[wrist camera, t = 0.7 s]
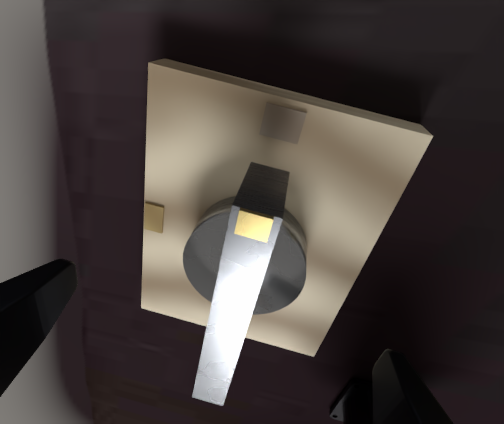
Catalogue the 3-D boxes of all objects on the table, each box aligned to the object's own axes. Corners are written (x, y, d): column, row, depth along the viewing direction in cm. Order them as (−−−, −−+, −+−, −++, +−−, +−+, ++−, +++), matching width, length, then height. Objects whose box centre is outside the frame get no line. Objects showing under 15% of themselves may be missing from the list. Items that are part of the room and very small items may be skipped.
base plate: (313, 335, 26) (313, 358, 24) (152, 289, 26) (140, 309, 25) (420, 124, 17) (434, 137, 15) (164, 58, 17) (146, 62, 15)
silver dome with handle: (278, 325, 23) (267, 422, 17) (186, 300, 23) (146, 387, 18) (341, 166, 16) (357, 242, 11) (210, 131, 16) (157, 188, 11)
